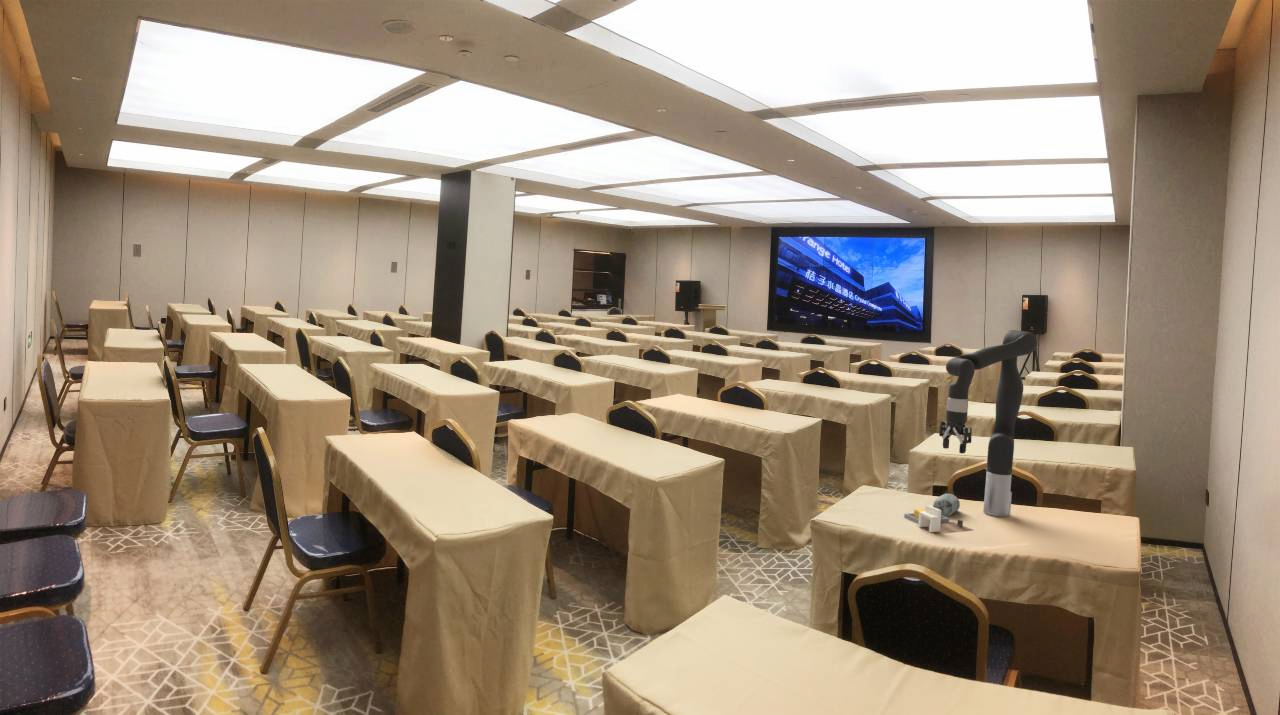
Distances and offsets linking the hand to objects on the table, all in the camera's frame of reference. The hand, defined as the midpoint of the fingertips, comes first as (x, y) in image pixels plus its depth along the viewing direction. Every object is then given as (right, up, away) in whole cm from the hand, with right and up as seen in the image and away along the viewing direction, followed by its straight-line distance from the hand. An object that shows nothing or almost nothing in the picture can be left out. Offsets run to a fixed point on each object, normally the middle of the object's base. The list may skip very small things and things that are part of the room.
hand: (953, 450), depth 282 cm
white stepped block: (-14, -28, -12) cm, 33 cm away
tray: (-11, -28, 0) cm, 30 cm away
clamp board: (-7, -29, -9) cm, 31 cm away
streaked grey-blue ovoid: (+1, -28, +11) cm, 30 cm away
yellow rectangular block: (-11, -27, 0) cm, 29 cm away
